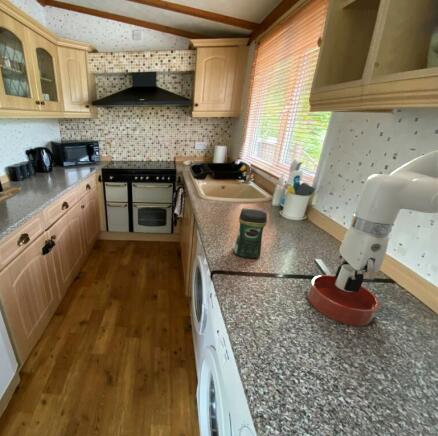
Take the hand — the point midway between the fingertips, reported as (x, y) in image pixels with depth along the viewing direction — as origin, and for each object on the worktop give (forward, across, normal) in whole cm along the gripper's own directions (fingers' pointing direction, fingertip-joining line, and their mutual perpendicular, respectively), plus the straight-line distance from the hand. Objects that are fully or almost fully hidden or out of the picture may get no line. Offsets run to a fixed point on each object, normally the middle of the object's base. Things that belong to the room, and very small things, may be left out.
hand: (346, 284), depth 67 cm
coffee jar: (+8, +24, +22) cm, 33 cm away
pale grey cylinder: (+1, 0, 0) cm, 1 cm away
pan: (+7, 0, 0) cm, 7 cm away
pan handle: (+4, +13, 0) cm, 13 cm away
